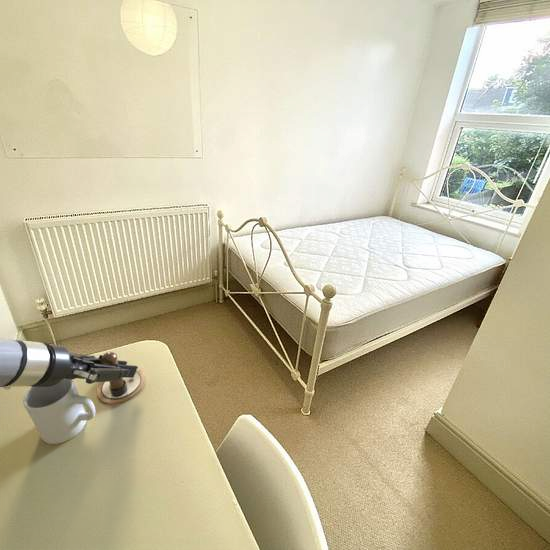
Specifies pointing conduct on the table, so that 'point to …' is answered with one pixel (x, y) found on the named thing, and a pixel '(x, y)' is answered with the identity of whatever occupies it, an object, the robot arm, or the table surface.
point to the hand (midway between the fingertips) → (129, 369)
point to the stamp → (117, 386)
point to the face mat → (132, 390)
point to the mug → (58, 411)
